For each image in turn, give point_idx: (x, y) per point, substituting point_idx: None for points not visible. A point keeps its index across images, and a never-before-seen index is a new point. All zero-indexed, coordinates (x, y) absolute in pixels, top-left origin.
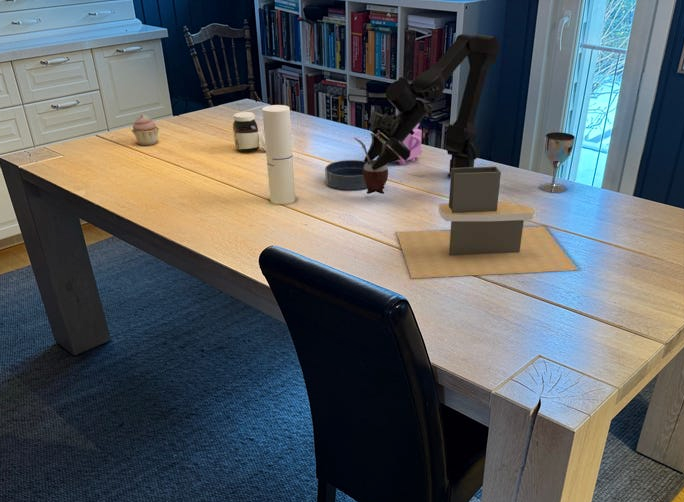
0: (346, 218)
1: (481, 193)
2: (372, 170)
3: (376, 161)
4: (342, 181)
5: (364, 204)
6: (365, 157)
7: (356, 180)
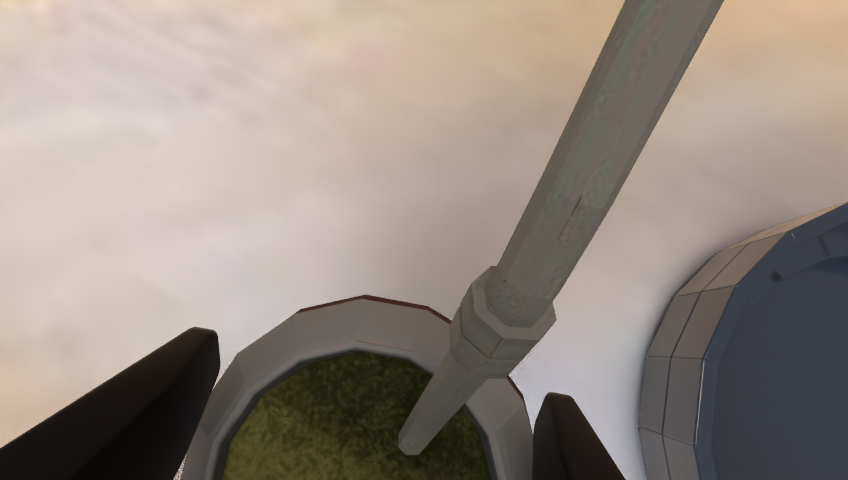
0: (171, 51)
1: None
2: (241, 356)
3: (81, 399)
4: (727, 268)
5: (331, 282)
6: (591, 432)
7: (679, 384)
